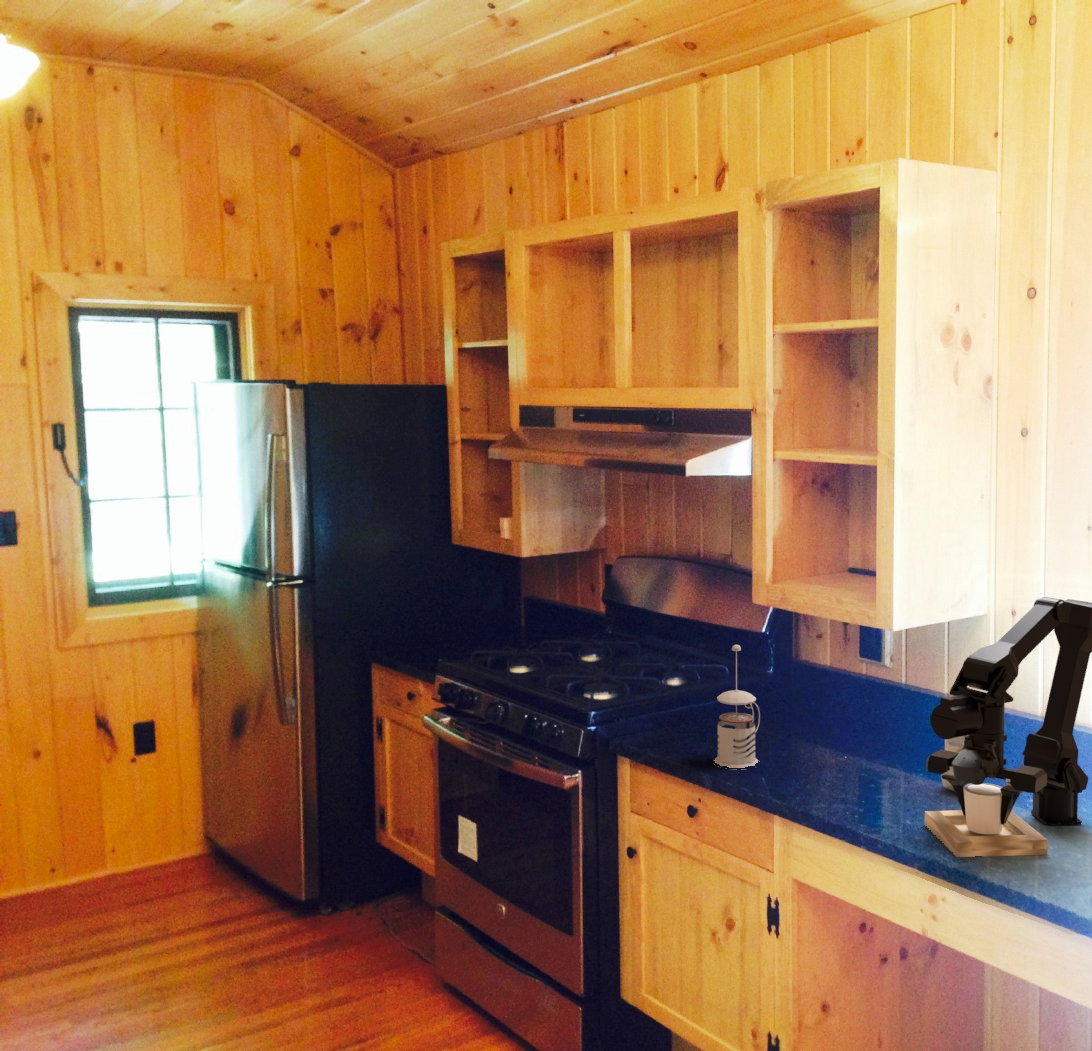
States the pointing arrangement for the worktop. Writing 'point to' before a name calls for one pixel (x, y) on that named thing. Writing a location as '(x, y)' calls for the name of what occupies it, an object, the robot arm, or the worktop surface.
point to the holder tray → (985, 836)
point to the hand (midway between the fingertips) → (984, 819)
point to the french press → (736, 729)
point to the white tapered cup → (983, 808)
